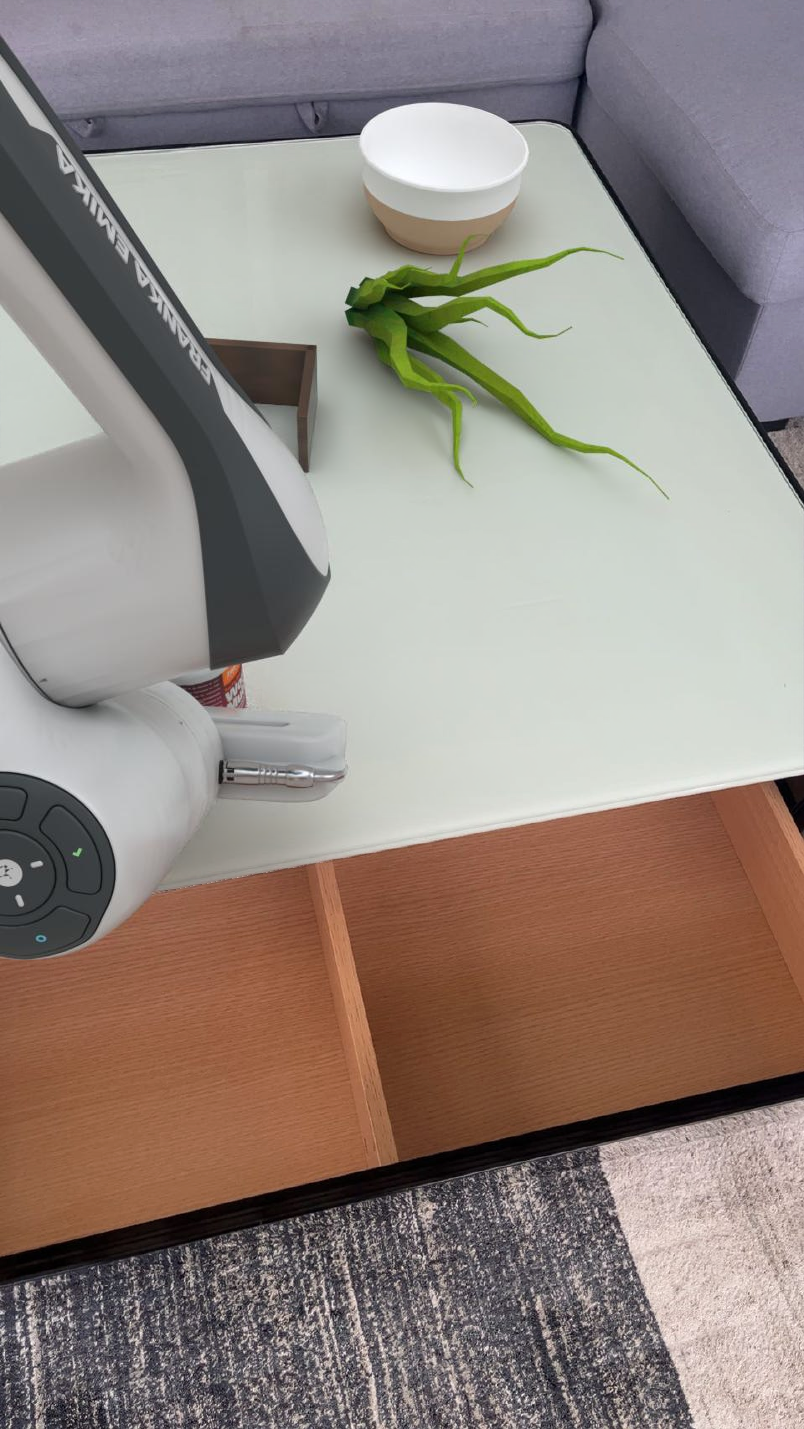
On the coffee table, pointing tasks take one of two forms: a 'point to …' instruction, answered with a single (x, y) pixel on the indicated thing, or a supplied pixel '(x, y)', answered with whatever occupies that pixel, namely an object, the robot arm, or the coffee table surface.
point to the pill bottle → (215, 686)
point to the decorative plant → (416, 327)
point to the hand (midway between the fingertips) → (184, 719)
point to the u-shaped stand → (276, 379)
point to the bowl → (441, 174)
